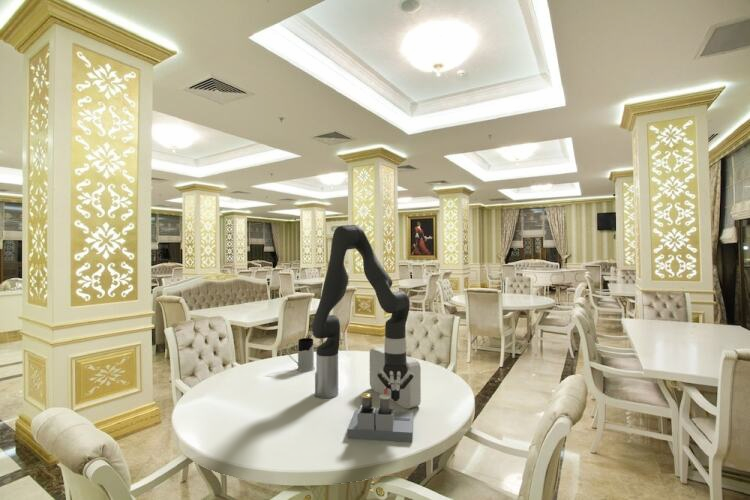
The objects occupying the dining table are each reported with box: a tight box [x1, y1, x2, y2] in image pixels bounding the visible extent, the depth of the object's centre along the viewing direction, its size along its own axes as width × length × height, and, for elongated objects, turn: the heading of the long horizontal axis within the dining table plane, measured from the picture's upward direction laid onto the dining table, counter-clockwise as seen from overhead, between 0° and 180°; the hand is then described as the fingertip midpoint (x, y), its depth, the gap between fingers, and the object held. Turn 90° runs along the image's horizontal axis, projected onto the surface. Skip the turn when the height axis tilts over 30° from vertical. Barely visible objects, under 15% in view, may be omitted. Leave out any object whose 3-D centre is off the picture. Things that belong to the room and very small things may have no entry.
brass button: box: [361, 392, 373, 413], centre depth 125 cm, size 4×4×5 cm
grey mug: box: [286, 337, 315, 372], centre depth 195 cm, size 9×14×15 cm, turn 89°
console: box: [346, 406, 414, 443], centre depth 129 cm, size 21×15×8 cm
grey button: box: [379, 394, 391, 413], centre depth 124 cm, size 4×4×5 cm
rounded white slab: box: [369, 346, 422, 410], centre depth 158 cm, size 29×8×18 cm, turn 33°
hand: (395, 400), depth 130 cm, fingers closed
